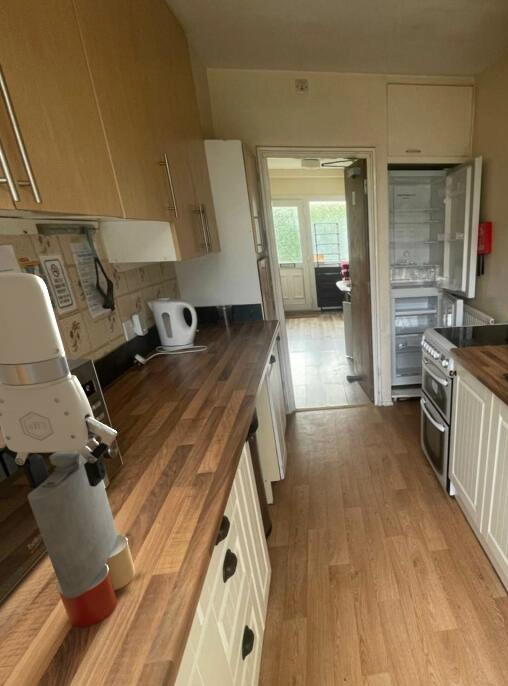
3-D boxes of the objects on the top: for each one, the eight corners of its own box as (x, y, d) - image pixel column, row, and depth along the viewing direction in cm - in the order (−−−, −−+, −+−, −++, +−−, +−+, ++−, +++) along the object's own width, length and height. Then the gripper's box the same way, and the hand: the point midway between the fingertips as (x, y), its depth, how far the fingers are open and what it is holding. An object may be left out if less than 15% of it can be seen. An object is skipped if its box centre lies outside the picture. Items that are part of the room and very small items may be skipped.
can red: (59, 629, 66) (46, 595, 64) (83, 595, 73) (72, 563, 70) (105, 626, 67) (94, 592, 64) (125, 592, 73) (116, 560, 70)
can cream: (83, 594, 73) (72, 562, 70) (103, 565, 79) (94, 535, 76) (125, 591, 73) (116, 560, 71) (142, 563, 80) (134, 533, 77)
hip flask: (100, 531, 77) (70, 431, 69) (125, 528, 78) (98, 429, 70) (59, 599, 63) (16, 484, 55) (90, 595, 64) (52, 481, 56)
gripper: (-61, 379, 53) (-12, 499, 60) (88, 378, 55) (118, 494, 62) (-15, 362, 60) (24, 471, 67) (116, 362, 62) (140, 468, 69)
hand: (69, 481), depth 64 cm, fingers open, 7 cm apart
